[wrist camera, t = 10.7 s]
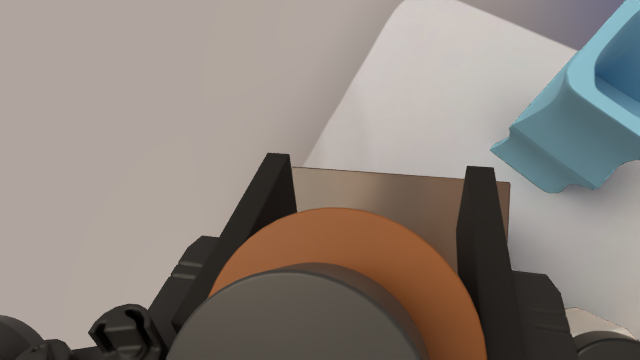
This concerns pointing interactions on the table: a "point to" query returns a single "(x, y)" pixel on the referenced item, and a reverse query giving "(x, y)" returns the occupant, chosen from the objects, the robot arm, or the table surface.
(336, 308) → the spice bottle
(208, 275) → the robot arm
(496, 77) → the table surface
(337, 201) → the block
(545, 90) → the blue doll chair
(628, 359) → the jar
